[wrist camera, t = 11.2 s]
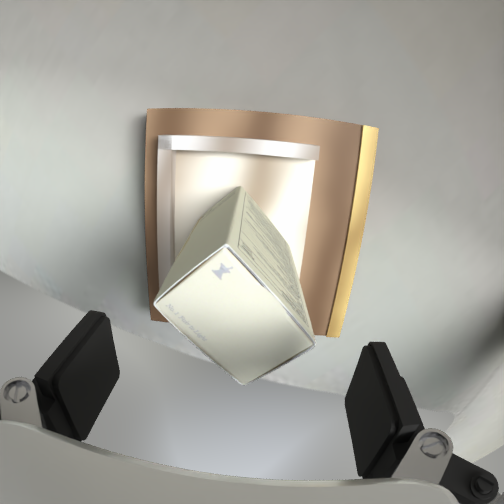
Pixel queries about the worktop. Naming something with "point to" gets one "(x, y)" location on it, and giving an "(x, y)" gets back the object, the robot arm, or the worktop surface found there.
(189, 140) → the dock
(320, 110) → the worktop surface
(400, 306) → the worktop surface
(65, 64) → the worktop surface
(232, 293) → the skincare box
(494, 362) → the worktop surface
